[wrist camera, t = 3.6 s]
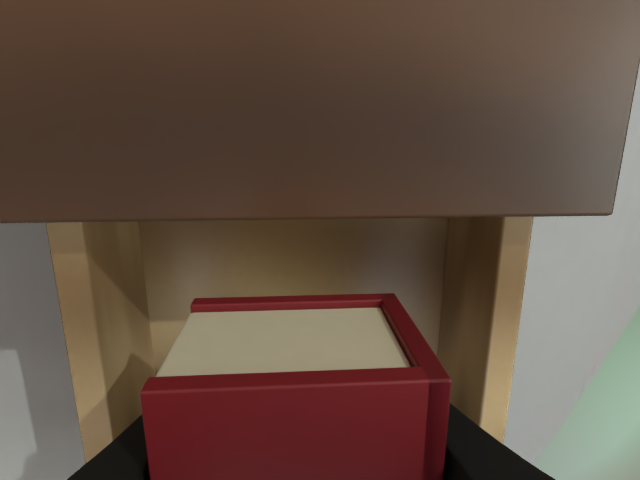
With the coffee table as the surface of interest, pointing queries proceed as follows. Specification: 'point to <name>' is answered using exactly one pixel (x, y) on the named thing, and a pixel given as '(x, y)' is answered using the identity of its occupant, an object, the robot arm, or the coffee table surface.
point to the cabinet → (313, 108)
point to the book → (298, 393)
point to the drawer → (285, 280)
